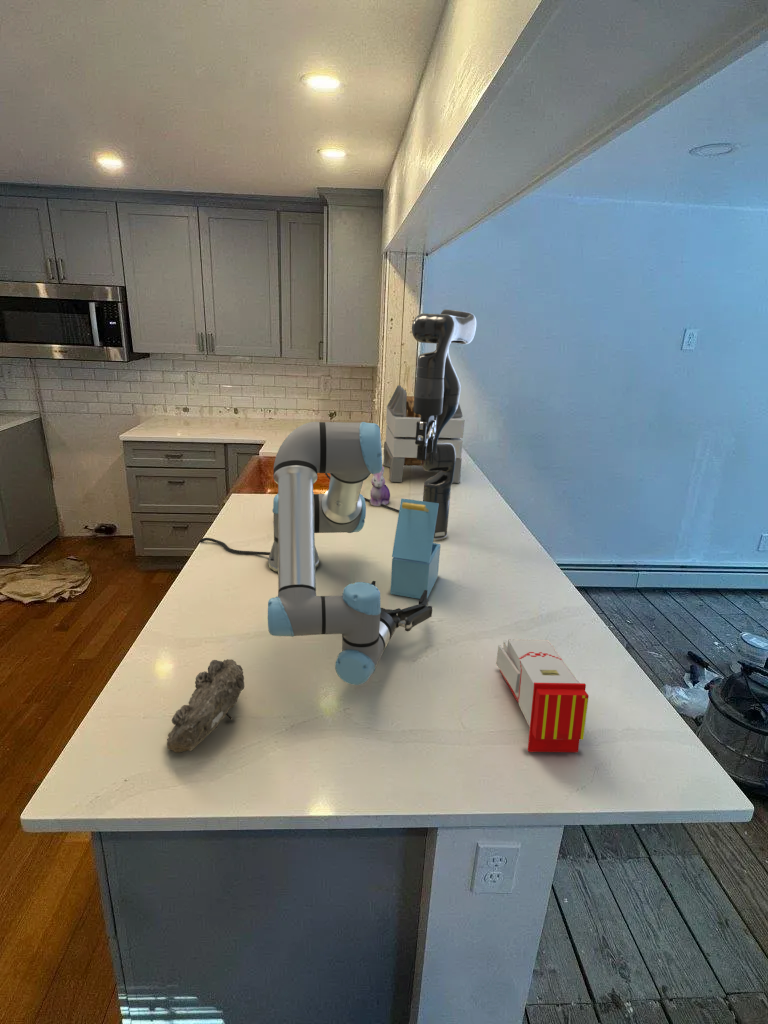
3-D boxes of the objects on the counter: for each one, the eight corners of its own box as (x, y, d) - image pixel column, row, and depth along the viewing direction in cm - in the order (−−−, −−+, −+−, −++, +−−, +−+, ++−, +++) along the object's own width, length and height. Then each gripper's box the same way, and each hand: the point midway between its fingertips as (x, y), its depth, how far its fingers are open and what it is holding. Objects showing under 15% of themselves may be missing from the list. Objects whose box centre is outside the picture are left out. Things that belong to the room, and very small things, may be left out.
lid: (401, 498, 156) (395, 494, 148) (439, 503, 153) (434, 499, 145) (392, 557, 154) (385, 555, 147) (429, 563, 152) (424, 562, 144)
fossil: (192, 660, 117) (244, 628, 112) (224, 691, 120) (276, 661, 115) (142, 746, 98) (202, 712, 93) (182, 779, 101) (242, 748, 96)
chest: (404, 571, 172) (406, 538, 168) (437, 576, 169) (440, 543, 166) (390, 593, 158) (392, 558, 154) (426, 600, 155) (429, 564, 151)
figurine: (374, 508, 224) (376, 471, 219) (363, 500, 232) (364, 464, 227) (395, 505, 228) (397, 469, 223) (384, 497, 237) (385, 462, 231)
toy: (545, 622, 128) (598, 691, 98) (539, 677, 130) (589, 759, 101) (491, 621, 127) (529, 690, 98) (487, 676, 130) (522, 759, 101)
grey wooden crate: (382, 463, 289) (386, 382, 275) (445, 464, 293) (451, 384, 279) (390, 482, 257) (394, 392, 243) (460, 483, 261) (468, 394, 247)
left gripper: (321, 636, 130) (353, 594, 149) (428, 658, 123) (446, 611, 142) (322, 607, 127) (353, 568, 146) (430, 628, 121) (449, 585, 140)
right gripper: (437, 400, 139) (432, 464, 145) (448, 393, 152) (443, 452, 158) (408, 397, 141) (404, 460, 147) (421, 390, 154) (417, 449, 160)
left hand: (399, 590), depth 144 cm, fingers open, 13 cm apart
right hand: (424, 456), depth 152 cm, fingers open, 8 cm apart
